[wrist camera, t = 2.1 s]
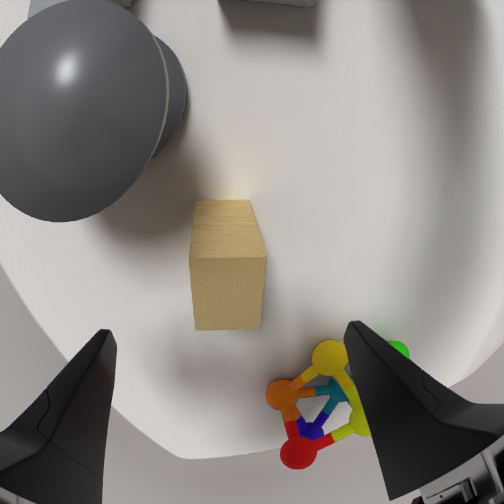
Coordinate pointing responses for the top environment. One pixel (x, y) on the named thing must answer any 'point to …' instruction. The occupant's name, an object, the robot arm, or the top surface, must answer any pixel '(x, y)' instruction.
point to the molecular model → (340, 390)
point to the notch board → (39, 3)
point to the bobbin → (83, 108)
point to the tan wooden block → (226, 266)
